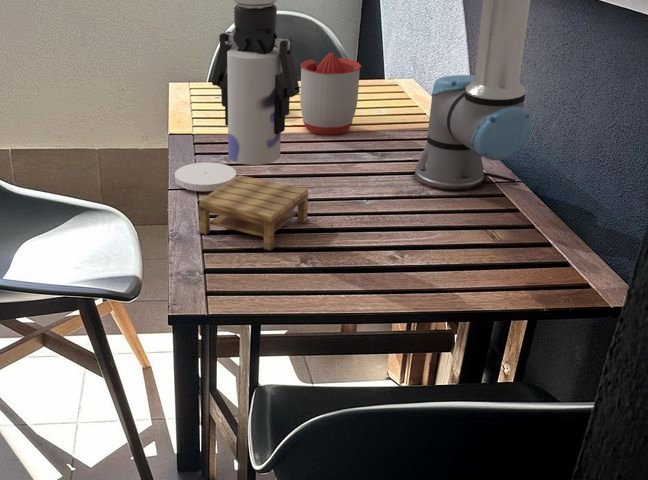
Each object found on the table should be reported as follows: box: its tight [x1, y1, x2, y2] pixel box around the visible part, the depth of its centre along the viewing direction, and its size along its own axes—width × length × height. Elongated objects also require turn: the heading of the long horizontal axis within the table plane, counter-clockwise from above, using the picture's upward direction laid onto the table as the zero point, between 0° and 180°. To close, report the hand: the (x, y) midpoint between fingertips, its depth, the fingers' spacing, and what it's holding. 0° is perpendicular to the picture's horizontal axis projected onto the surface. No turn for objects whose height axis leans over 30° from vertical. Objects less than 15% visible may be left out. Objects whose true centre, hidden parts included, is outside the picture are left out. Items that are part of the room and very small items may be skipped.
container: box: [226, 46, 283, 166], centre depth 152 cm, size 10×10×20 cm
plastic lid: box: [174, 161, 238, 192], centre depth 184 cm, size 14×14×2 cm
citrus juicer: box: [299, 52, 362, 135], centre depth 213 cm, size 16×17×20 cm
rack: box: [198, 174, 309, 251], centre depth 163 cm, size 16×16×7 cm
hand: (254, 127), depth 154 cm, fingers closed on container, 10 cm apart
